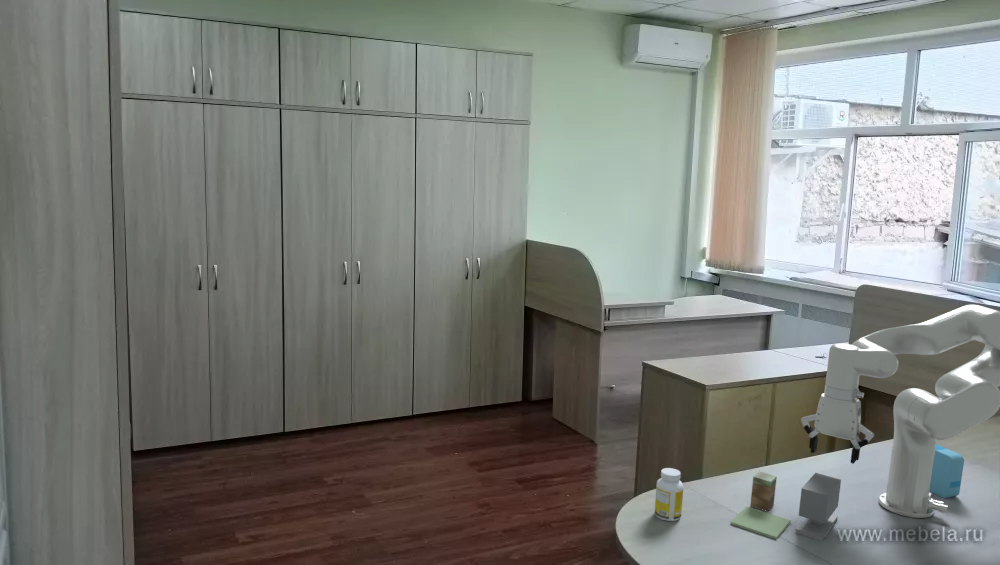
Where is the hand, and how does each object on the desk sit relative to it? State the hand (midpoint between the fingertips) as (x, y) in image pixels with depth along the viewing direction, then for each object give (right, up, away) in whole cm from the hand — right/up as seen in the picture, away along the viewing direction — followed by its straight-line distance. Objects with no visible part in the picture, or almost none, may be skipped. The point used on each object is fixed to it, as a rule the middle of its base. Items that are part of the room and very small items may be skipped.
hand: (833, 456), depth 189 cm
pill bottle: (-44, -13, -7) cm, 47 cm away
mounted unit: (-8, -15, -9) cm, 19 cm away
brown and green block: (-18, -13, +1) cm, 22 cm away
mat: (-22, -14, -9) cm, 28 cm away
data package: (+34, -13, +15) cm, 39 cm away
